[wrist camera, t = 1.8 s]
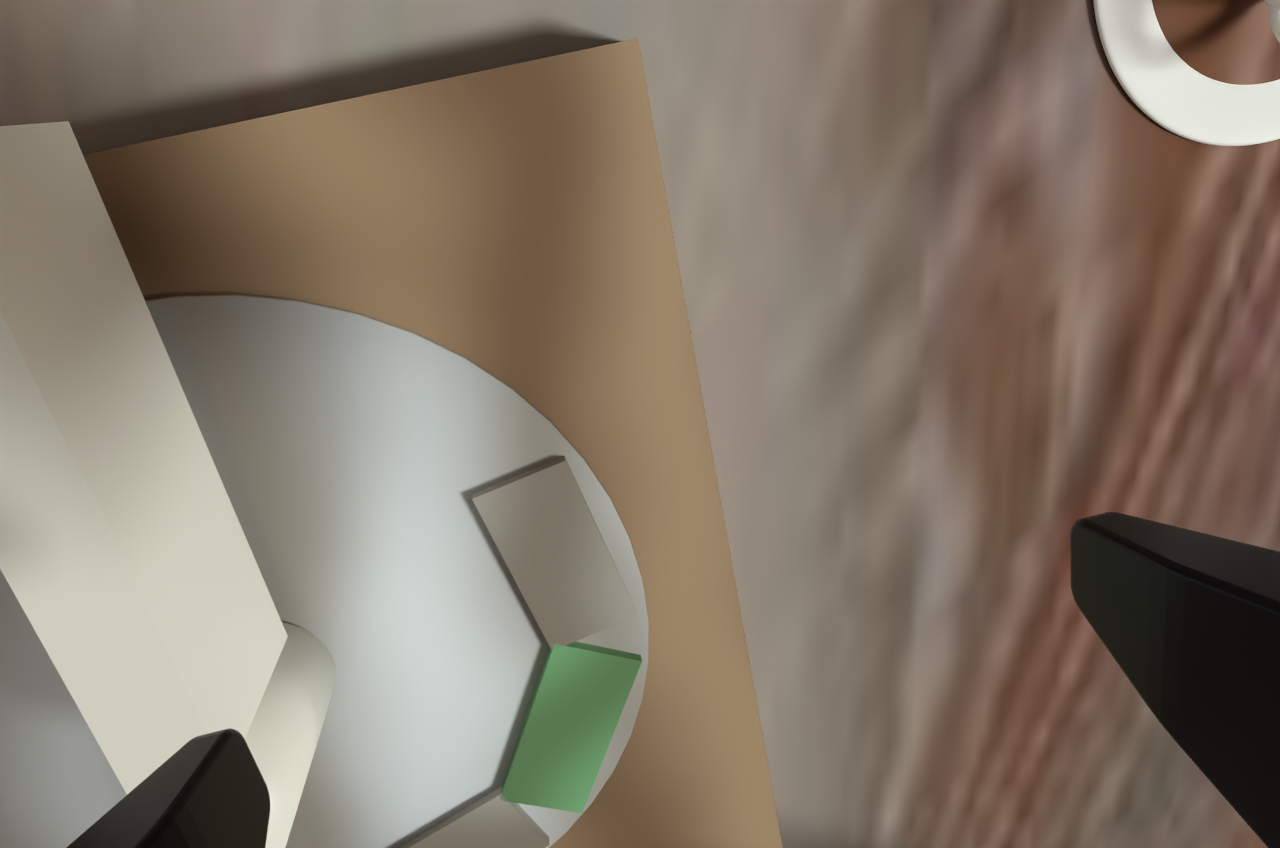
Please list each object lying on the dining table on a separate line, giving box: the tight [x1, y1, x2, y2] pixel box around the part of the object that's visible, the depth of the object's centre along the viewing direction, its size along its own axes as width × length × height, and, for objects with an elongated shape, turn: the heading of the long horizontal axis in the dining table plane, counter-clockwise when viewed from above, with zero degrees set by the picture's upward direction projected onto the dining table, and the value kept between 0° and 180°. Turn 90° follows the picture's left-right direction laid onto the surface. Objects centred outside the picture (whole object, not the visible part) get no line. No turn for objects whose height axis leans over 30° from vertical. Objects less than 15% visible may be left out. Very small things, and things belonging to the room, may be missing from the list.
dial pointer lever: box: [0, 121, 336, 848], centre depth 15 cm, size 18×3×4 cm, turn 11°
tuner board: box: [0, 38, 783, 848], centre depth 19 cm, size 20×21×2 cm
